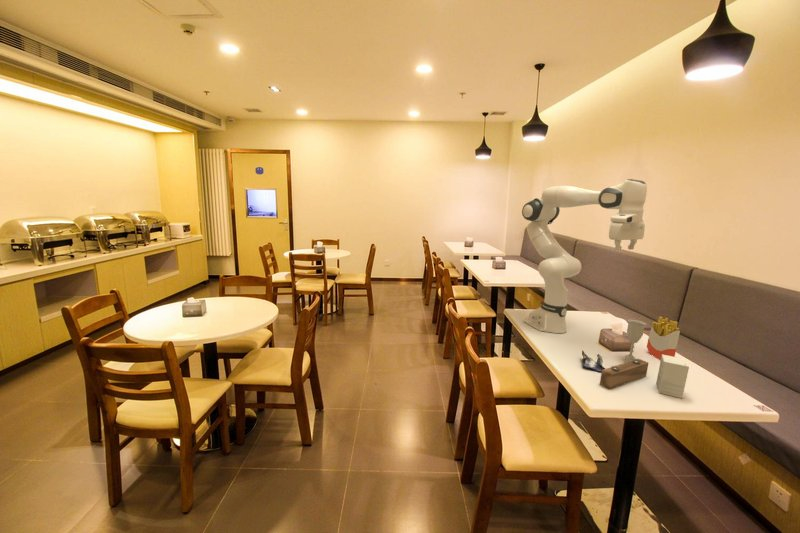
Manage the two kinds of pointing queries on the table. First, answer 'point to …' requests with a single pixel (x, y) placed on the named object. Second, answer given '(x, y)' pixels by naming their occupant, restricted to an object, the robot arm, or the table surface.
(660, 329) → the french fries container
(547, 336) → the table surface
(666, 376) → the supplement box
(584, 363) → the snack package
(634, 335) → the chalice
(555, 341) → the table surface
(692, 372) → the table surface
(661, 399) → the table surface
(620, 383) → the bar
